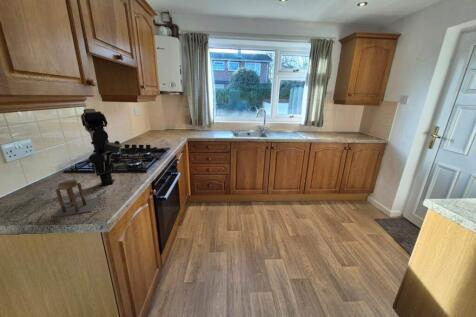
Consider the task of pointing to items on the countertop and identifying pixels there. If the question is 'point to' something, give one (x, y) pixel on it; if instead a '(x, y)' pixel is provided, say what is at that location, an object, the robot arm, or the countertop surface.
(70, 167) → the countertop surface
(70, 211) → the mat
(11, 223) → the countertop surface
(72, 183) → the stool
